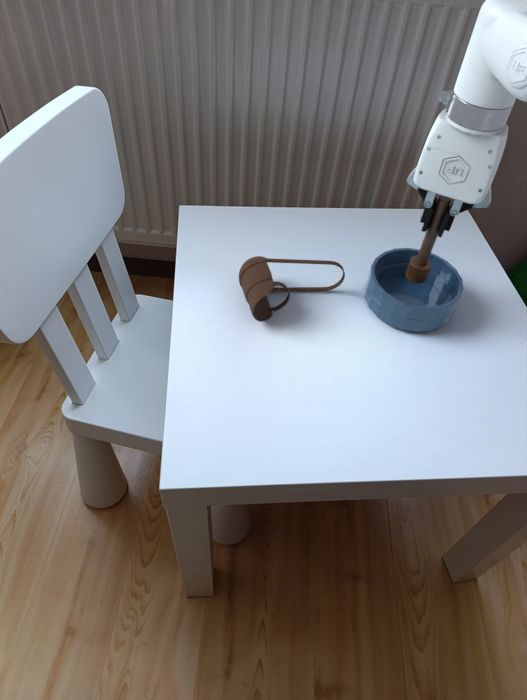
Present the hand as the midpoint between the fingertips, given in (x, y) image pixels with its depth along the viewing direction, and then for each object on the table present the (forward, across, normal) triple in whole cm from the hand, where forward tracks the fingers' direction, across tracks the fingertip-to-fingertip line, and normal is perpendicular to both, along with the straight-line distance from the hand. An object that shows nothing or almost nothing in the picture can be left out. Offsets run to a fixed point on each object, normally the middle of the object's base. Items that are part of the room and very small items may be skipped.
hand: (433, 228), depth 82 cm
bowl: (+15, 0, 0) cm, 15 cm away
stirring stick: (+10, 0, 0) cm, 10 cm away
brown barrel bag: (+16, -18, -9) cm, 25 cm away
